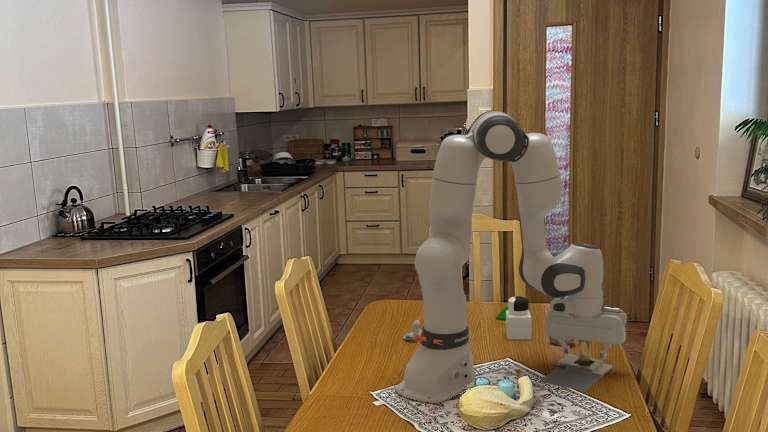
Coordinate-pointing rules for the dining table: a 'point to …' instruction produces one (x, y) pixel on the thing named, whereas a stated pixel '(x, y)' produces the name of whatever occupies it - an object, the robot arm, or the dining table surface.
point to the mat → (571, 379)
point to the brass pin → (584, 352)
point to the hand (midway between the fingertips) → (584, 355)
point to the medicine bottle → (518, 319)
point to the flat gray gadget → (594, 369)
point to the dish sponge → (502, 316)
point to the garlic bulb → (556, 341)
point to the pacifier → (415, 331)
